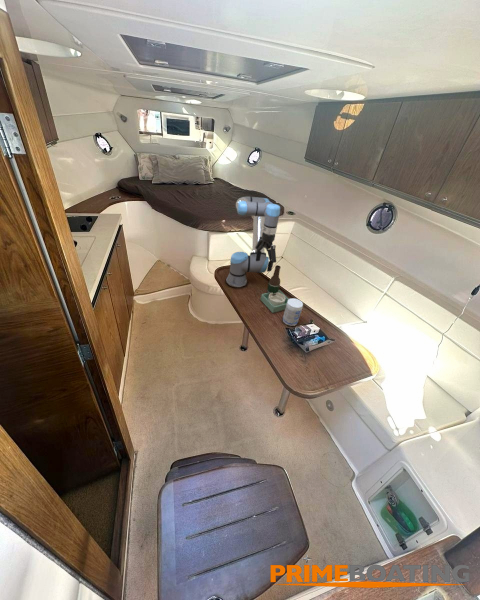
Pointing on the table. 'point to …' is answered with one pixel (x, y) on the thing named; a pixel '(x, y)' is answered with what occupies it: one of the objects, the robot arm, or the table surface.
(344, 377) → the table surface
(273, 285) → the brown glass bottle
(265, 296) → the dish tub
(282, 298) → the cream ribbed bowl
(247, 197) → the robot arm
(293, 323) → the supplement tub
